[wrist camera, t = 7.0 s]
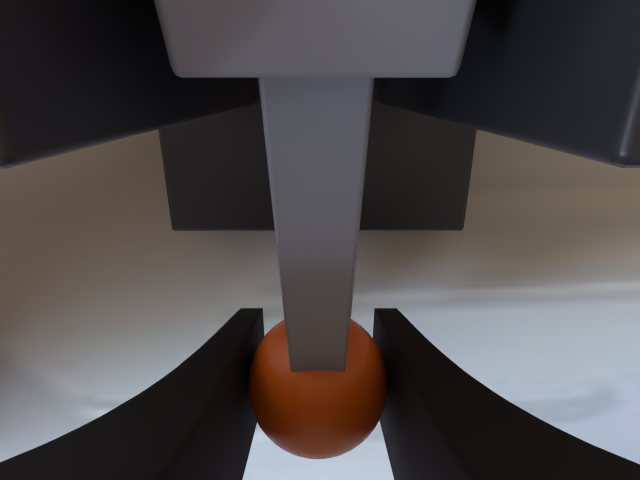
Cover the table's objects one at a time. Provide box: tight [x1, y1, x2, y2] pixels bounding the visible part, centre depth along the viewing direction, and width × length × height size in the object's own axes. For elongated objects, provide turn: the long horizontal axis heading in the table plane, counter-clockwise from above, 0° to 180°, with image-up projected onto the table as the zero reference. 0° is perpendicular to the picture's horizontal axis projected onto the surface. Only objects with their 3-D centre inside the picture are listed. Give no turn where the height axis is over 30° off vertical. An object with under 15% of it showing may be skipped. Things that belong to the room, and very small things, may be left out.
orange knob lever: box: [154, 0, 477, 459], centre depth 6 cm, size 12×3×3 cm, turn 179°
